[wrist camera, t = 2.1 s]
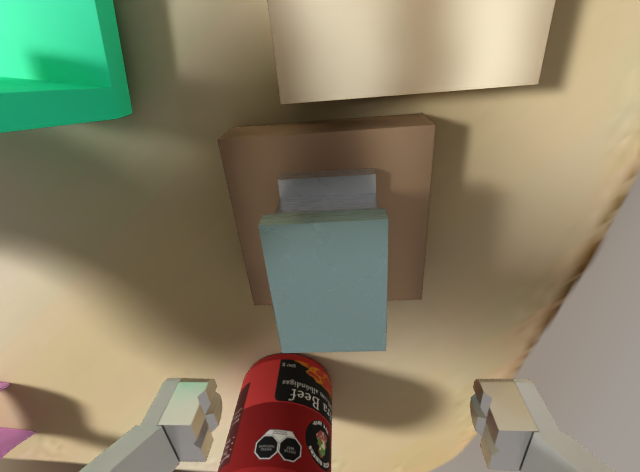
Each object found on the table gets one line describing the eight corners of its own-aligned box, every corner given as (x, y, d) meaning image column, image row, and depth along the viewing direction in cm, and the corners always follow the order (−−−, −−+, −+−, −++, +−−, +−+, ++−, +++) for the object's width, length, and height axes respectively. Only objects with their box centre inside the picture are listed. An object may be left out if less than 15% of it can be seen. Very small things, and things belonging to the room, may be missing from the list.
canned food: (348, 390, 32) (352, 540, 22) (278, 416, 34) (255, 562, 25) (300, 337, 29) (282, 485, 19) (227, 370, 31) (179, 516, 22)
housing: (295, 278, 22) (281, 353, 17) (280, 173, 19) (258, 225, 14) (374, 275, 22) (386, 350, 17) (374, 167, 18) (388, 219, 13)
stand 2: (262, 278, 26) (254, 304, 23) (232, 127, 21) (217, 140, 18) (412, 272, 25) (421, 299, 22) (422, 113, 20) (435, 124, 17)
